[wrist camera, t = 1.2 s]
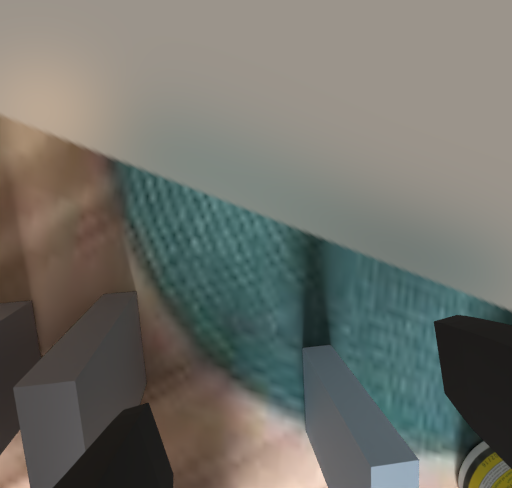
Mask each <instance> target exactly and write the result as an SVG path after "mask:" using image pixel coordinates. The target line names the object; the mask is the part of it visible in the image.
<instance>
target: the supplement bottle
mask: <svg viewBox="0 0 512 488" xmlns="http://www.w3.org/2000/svg"><path fill="white" fill-rule="evenodd" d="M458 486H459V488H512V469H511V468H510V467H509V466H508V465H507V464H506V463H505V462H504V461H503V460H502V459H501V458H500V457H499V456H498V455H497V454H496V453H495V452H494V451H493V450H492V449H491V448H490V447H489V446H488V445H487V444H486V443H485V442H484V441H483V442H481V443H480V444H478V445H477V446H476V447H475V448H474V449H473V450H472V451H471V452H470V453H469V454H468V455H467V457H466V459H465V460H464V462H463V464H462V466H461V469H460V472H459V477H458Z"/></svg>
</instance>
